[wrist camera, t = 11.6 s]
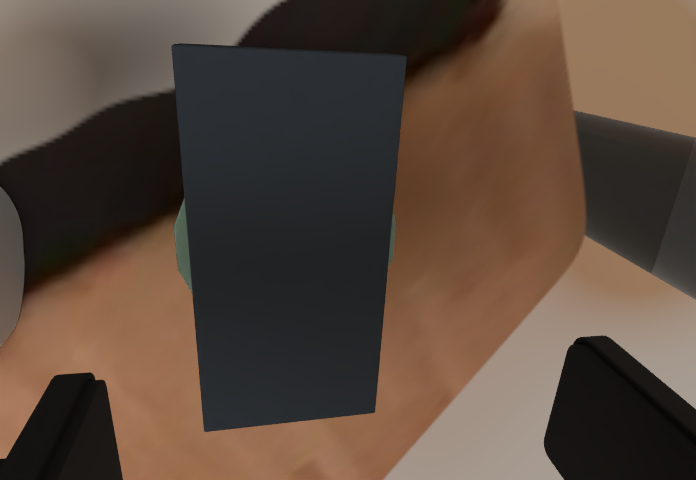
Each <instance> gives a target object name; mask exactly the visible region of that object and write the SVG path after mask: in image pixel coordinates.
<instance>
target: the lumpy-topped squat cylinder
mask: <svg viewBox="0 0 696 480" xmlns="http://www.w3.org/2000/svg"><path fill="white" fill-rule="evenodd" d="M24 272H25V263H24V251H23V233H22V226H21V222H20V218H19V215H18V212H17V210H16V208H15V206H14V204H13V202H12V200H11V199H10V197H9V196H8V195H7V193H6V192H5V191H4V190H3V189H2V187H1V186H0V347H1V346H2V345H3V343H4V342H5V341H6V340H7V338H8V337H9V336H10V334H11V333H12V332H13V330H14V329H15V327H16V325H17V322H18V319H19V315H20V310H21V304H22V297H23V288H24Z"/></svg>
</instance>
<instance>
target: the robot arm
mask: <svg viewBox="0 0 696 480" xmlns="http://www.w3.org/2000/svg"><path fill="white" fill-rule="evenodd" d="M544 447H545V451H546V453H547V455H548V457H549V459H550V460H551V462H552V463H553V464H554V466H555V467H556V469H557V470H558V472H559V473H560V474H561V476H562V477H563V478H564V480H696V409H695V408H693V407H692V406H691V405H690V404H689V403H687V402H686V401H685V400H684V399H683V398H681V397H680V396H679V395H678V394H677V393H675V392H674V391H673V390H672V389H671V388H669V387H668V386H667V385H666V384H665V383H663V382H662V381H661V380H660V379H659V378H657V377H656V376H655V375H654V374H653V373H651V372H650V371H649V370H648V369H647V368H645V367H644V366H643V365H642V364H641V363H639V362H638V361H637V360H636V359H635V358H633V357H632V356H631V355H630V354H629V353H627V352H626V351H625V350H624V349H623V348H621V347H620V346H619V345H618V344H616V343H615V342H614V341H613V340H612V339H610V338H609V337H607V336H591V337H580V338H577V339H576V341H575V342H574V344H573V345H571V346H570V347H569V349H568V351H567V355H566V358H565V362H564V366H563V369H562V373H561V377H560V381H559V385H558V388H557V392H556V396H555V400H554V404H553V407H552V411H551V415H550V418H549V422H548V426H547V430H546V434H545V437H544ZM0 480H123V478H122V472H121V466H120V461H119V455H118V449H117V444H116V438H115V432H114V426H113V421H112V415H111V409H110V404H109V398H108V392H107V387H106V383H105V381H104V380H95V377H94V375H93V373H77V374H63V375H56V376H54V378H53V379H52V380H51V382H50V384H49V385H48V387H47V389H46V391H45V392H44V394H43V396H42V397H41V399H40V401H39V403H38V404H37V406H36V408H35V409H34V411H33V413H32V415H31V416H30V418H29V420H28V421H27V423H26V425H25V427H24V428H23V430H22V432H21V434H20V435H19V437H18V439H17V440H16V442H15V444H14V446H13V447H12V449H11V451H10V452H9V454H8V456H7V458H6V459H0Z"/></svg>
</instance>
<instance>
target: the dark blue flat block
mask: <svg viewBox="0 0 696 480" xmlns="http://www.w3.org/2000/svg"><path fill="white" fill-rule="evenodd" d="M172 56H173V69H174V80H175V93H176V105H177V116H178V128H179V140H180V152H181V164H182V175H183V187H184V199H185V211H186V223H187V234H188V246H189V258H190V270H191V282H192V293H193V305H194V317H195V329H196V341H197V352H198V364H199V376H200V388H201V400H202V411H203V423H204V431H205V432H209V431H217V430H226V429H235V428H244V427H253V426H262V425H271V424H279V423H288V422H297V421H306V420H315V419H324V418H333V417H341V416H350V415H359V414H368V413H374V412H375V405H376V394H377V383H378V372H379V361H380V350H381V339H382V327H383V316H384V305H385V294H386V283H387V272H388V261H389V249H390V238H391V227H392V216H393V205H394V194H395V183H396V172H397V160H398V149H399V138H400V127H401V116H402V105H403V94H404V82H405V71H406V60H407V57H406V56H404V55H396V54H386V53H366V52H345V51H325V50H304V49H283V48H263V47H242V46H222V45H201V44H174V45H172Z"/></svg>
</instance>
